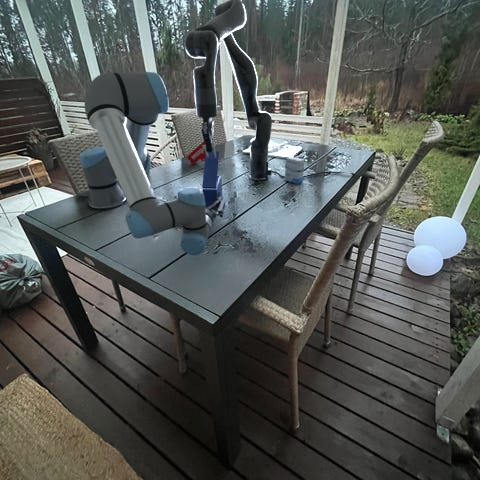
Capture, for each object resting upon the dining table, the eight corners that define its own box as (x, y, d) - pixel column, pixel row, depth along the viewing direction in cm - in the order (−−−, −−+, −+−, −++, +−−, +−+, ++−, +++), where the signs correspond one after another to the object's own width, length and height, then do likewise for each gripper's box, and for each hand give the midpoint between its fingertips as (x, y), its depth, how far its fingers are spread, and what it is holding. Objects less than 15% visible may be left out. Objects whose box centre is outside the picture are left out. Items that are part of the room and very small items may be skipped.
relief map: (291, 159, 177) (291, 151, 174) (243, 153, 190) (243, 145, 187) (302, 149, 197) (303, 142, 194) (258, 144, 211) (258, 137, 208)
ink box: (302, 181, 142) (305, 159, 136) (297, 184, 139) (300, 161, 133) (289, 177, 147) (291, 156, 141) (284, 180, 144) (285, 158, 138)
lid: (206, 153, 113) (202, 138, 105) (219, 153, 113) (216, 138, 105) (202, 188, 108) (198, 176, 100) (216, 188, 107) (213, 176, 99)
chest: (210, 197, 127) (208, 175, 121) (222, 197, 127) (221, 175, 121) (204, 213, 113) (202, 189, 107) (217, 213, 113) (216, 189, 107)
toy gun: (224, 159, 165) (208, 138, 162) (221, 161, 162) (205, 139, 158) (204, 174, 175) (189, 154, 172) (201, 176, 172) (186, 156, 168)
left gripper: (176, 230, 96) (190, 202, 115) (228, 232, 95) (233, 203, 114) (173, 211, 92) (188, 186, 111) (228, 212, 91) (233, 186, 110)
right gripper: (199, 99, 102) (203, 146, 111) (191, 104, 90) (196, 156, 100) (219, 99, 101) (221, 146, 111) (213, 104, 90) (217, 156, 100)
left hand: (211, 195), depth 113 cm, fingers closed on chest, 6 cm apart
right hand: (209, 151), depth 106 cm, fingers closed
